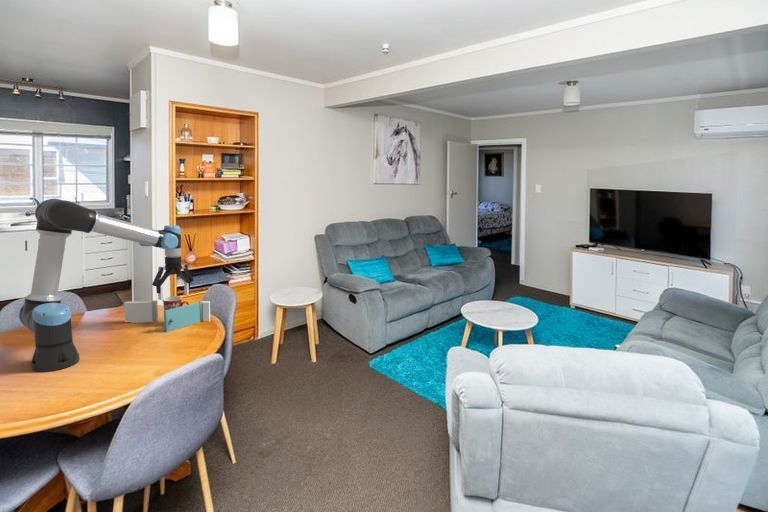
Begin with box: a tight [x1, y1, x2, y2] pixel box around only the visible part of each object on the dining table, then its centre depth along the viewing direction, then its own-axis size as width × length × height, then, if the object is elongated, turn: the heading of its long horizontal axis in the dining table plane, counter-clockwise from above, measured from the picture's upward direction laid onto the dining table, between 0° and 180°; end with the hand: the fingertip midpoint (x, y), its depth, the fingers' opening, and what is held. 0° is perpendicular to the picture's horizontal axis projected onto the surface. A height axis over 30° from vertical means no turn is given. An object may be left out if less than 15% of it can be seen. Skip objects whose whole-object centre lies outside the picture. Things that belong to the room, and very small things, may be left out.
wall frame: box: [123, 300, 211, 323], centre depth 223 cm, size 2×41×11 cm, turn 99°
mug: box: [162, 295, 190, 312], centre depth 220 cm, size 13×9×14 cm
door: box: [163, 301, 200, 333], centre depth 216 cm, size 4×19×10 cm, turn 152°
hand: (173, 297), depth 218 cm, fingers open, 13 cm apart
